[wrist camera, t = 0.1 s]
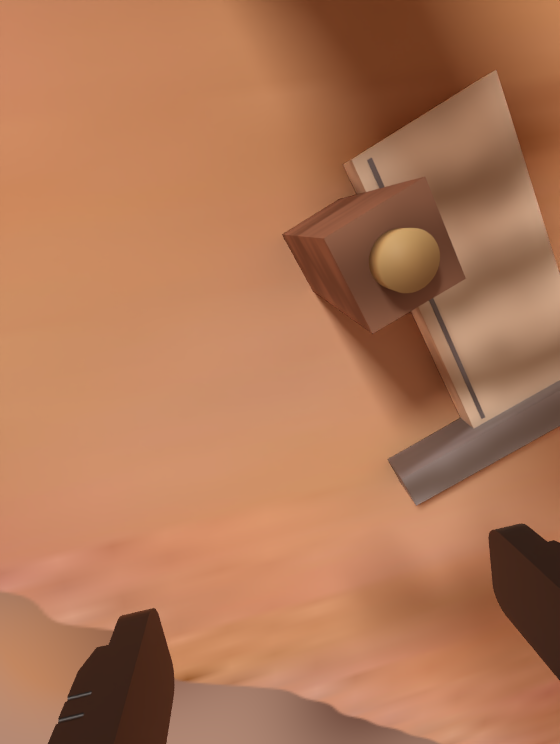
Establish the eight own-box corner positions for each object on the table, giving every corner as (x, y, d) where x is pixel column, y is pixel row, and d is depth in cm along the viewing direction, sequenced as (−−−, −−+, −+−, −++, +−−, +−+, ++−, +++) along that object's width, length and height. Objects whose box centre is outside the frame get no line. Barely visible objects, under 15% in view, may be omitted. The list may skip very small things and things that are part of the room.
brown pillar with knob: (282, 234, 29) (331, 239, 15) (339, 199, 28) (440, 172, 15) (313, 291, 30) (382, 341, 17) (367, 258, 30) (482, 282, 16)
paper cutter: (252, 221, 28) (255, 220, 25) (477, 80, 27) (506, 63, 24) (401, 484, 36) (416, 505, 34) (577, 385, 35) (607, 399, 33)
